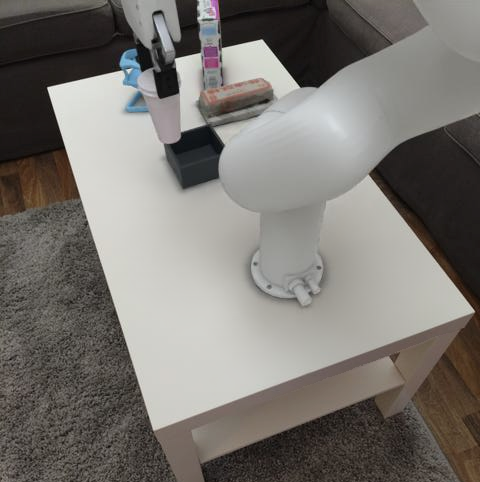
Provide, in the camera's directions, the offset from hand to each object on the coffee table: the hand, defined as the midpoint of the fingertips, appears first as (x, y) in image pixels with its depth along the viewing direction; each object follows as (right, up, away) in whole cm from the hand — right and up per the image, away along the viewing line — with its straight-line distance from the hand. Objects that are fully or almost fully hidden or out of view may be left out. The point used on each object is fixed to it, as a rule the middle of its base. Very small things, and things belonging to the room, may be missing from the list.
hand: (160, 81), depth 64 cm
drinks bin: (+3, -2, +29) cm, 29 cm away
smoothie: (0, -5, +8) cm, 9 cm away
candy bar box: (+5, +25, +46) cm, 52 cm away
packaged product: (+11, +15, +39) cm, 44 cm away
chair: (-10, +17, +41) cm, 46 cm away
